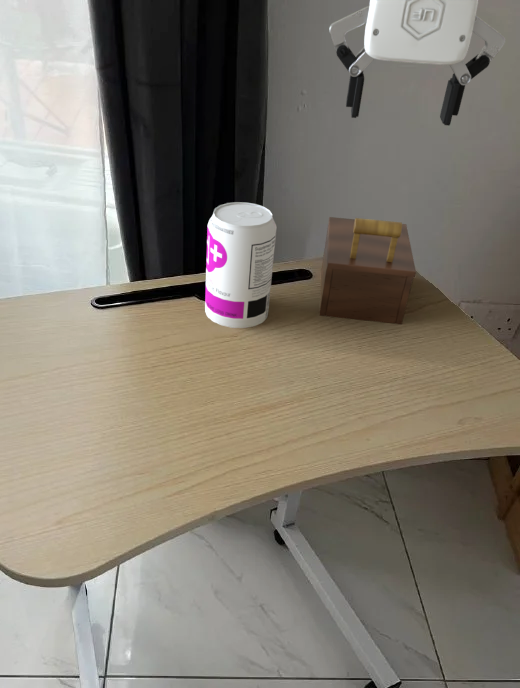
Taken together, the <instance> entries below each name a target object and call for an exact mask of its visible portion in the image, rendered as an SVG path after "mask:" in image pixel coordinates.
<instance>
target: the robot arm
mask: <svg viewBox="0 0 520 688" xmlns="http://www.w3.org/2000/svg"><path fill="white" fill-rule="evenodd" d="M478 5H479V0H369V4H368V5H367V6H365V7H363V8H361V9H359V10H357V11H355V12H352V13H350V14H348V15H346V16H344V17H342V18H340V19H338V20H336V21H333V22H332V23H331V24H330V25H329V30H328V31H329V35H330V38H331V40H332V44H333V48H334V50H335V53H336V57H337V58H338V59H339V60H340V62H341V63H342V65H343V66H344V67H345V69H346V70H347V72H348V73H349V81H348V87H347V94H346V101H345V107H346V108H350V115H351V116H350V117H351V119H357V118H359V115H360V109H361V104H362V103H361V102H362V96H363V90H364V84H365V74H364V71H365V69H367V67H369V65H370V64H371V63H372V62H374V60H378V61H385V62H396V63H410V64H411V63H412V64H421V65H422V64H424V65H438V66H449V67H450V69H451V71H452V73H453V74H452V76H451V77H450V79H448V81H447V85H446V89H445V93H444V96H443V100H442V101H443V102H442V106H441V110H440V114H439V119H440V121H441V123H442V124H443V125H444V126H451V122H452V119H453V116H455V117H457V116H458V115H459V112H460V108H461V104H462V100H463V96H464V93H465V88H466V85H468V84H470V82H471V81H472V80H473V79H475V77H477V76H478V75H479V74H480V73H481V72H483V71H484V70H485V69H487V68H488V67H489V66H490V63H491V61H493V59H494V58H495V57H496V56H497V55H498V53H499V52H500V51H501V49H502V48H503V47H504V45H505V44H506V37H505V36H503V34H501V32H500V31H497V30H496V29H495V28H494V27H492V26H491V25H489V24H488V23H487V22H486V21H485V20H483V19H481V17H479V16H477V10H478ZM363 25H365V26H364V37H363V47H362V48H361V49H360V50H359V51H358V52H357V53H356V54H354V52H353V51H352V50H351V48H350V46H349V45H348V43H347V40H346V34H347V33H348V32H350V31H353V30H355V29H357V28H359V27H361V26H363ZM473 34H475V35H476V36H477V37H479V39H481V40H483V41H484V45H483V47H482V48H481V50H480V52H479V53H478V54H476V55H475V56H473V58H471V59H470V60H469V61H467V62H466V63H465V61H464V60H465V58H466V57H467V55H468V52H469V49H470V44H471V40H472V36H473Z"/></svg>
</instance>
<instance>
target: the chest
mask: <svg viewBox="0 0 520 688" xmlns="http://www.w3.org/2000/svg"><path fill="white" fill-rule="evenodd" d="M326 229H327V230H326V236H325V241H324V248H323V256H322V263H321V269H320V271H321V273H320V291H319V292H320V293H319V312H318V313H319V316H321V317H330V318H339V319H346V320H347V319H348V320H358V321H366V322H377V323H384V324H395V325H403V320H404V316H405V313H406V310H407V309H406V308H407V306H408V300H409V297H410V293H411V288H412V285H413V281H414V277H406V276H396V275H386V274H376V273H366V272H356V271H347V270H337V269H328V268H327V254H328V227H327V228H326Z"/></svg>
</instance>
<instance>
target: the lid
mask: <svg viewBox="0 0 520 688" xmlns="http://www.w3.org/2000/svg"><path fill="white" fill-rule="evenodd" d="M327 228H328V254H327V268H328V269H337V270H347V271H356V272H366V273H376V274H386V275H396V276H406V277H413V278H416V275H417V269H416V265H415V261H414V254H413V250H412V245H411V240H410V237H409V230H408V226H407V224H406V223H403V222H402V221H392V220H382V219H381V220H380V219H371V218H361V217H355V218H343V217H334V216H329V217H328V223H327Z"/></svg>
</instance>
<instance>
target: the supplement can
mask: <svg viewBox="0 0 520 688" xmlns="http://www.w3.org/2000/svg"><path fill="white" fill-rule="evenodd" d="M277 228H278V227H277V224H276V222H275V219H274V217H273V213H272V211H271V210H270V209H269V208H267V207H266V206H263V205H260V204H257V203H251V202H243V201H242V202H240V201H234V202H226V203H224V204H219V205H218V206H217V207H215V208H214V209H213V212H212V215H211V217H210V218H209V220H208V223H207V228H206V229H207V230H206V231H207V233H206V235H207V236H206V263H205V265H206V267H205V293H204V294H205V297H204V298H205V299H204V300H205V301H204V312H205V315H206V317H207V318H208V319H209V320H211V322H213V323H215V324H217V325H219V326H221V327H227V328H231V329H247V328H252V327H256V326H258V325H260V324H262V323H264V322H265V321H266V319H267V318H268V315H269V308H270V299H271V298H270V297H271V290H272V289H271V288H272V279H273V278H272V277H273V269H274V257H275V247H276V238H277Z"/></svg>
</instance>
